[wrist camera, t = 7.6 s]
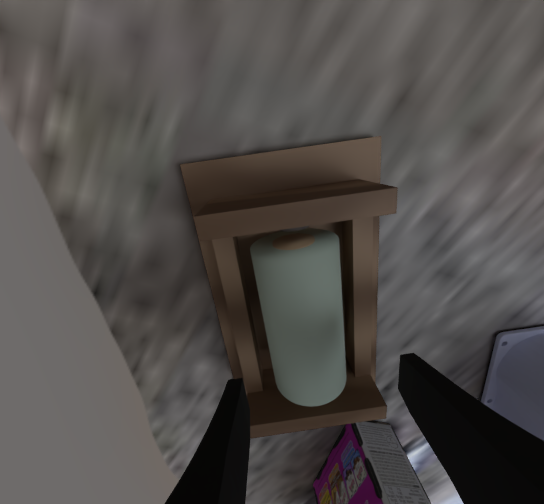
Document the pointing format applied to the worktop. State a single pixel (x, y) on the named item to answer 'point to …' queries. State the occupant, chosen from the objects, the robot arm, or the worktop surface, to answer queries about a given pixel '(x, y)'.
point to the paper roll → (303, 312)
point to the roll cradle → (289, 217)
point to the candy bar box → (368, 469)
